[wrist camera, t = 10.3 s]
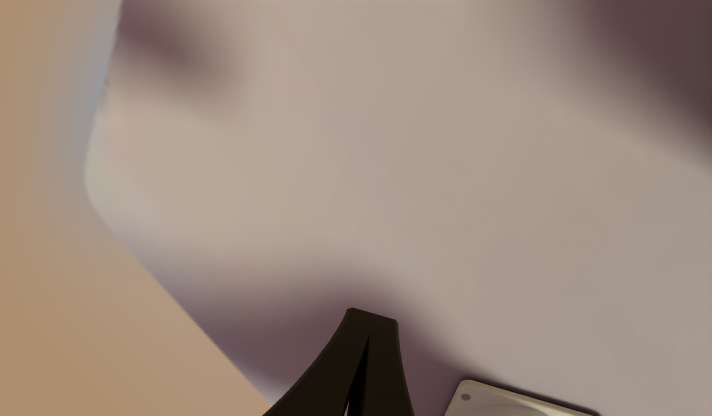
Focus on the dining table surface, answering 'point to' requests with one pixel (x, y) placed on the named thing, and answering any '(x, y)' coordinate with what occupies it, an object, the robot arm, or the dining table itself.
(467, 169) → the dining table surface
